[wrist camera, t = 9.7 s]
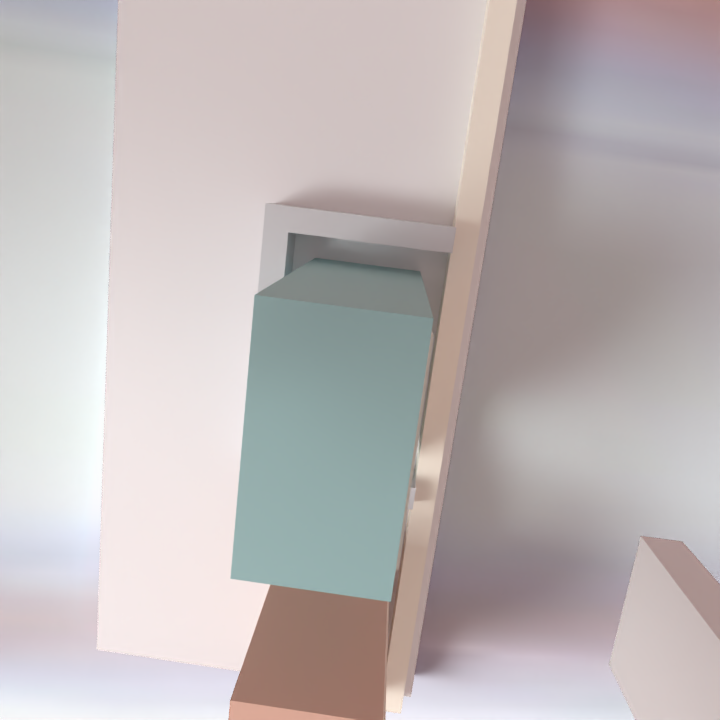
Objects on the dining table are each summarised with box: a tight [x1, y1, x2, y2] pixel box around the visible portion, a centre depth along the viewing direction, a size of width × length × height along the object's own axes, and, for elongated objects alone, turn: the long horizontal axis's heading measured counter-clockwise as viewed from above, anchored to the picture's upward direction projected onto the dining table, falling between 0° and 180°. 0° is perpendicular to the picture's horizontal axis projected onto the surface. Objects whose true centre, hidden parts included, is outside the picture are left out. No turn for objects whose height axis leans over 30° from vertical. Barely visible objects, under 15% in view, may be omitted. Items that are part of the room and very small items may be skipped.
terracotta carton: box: [229, 585, 389, 720], centre depth 26 cm, size 5×8×12 cm, turn 173°
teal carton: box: [230, 258, 434, 602], centre depth 23 cm, size 5×8×12 cm, turn 173°
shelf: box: [97, 0, 526, 713], centre depth 29 cm, size 16×36×4 cm, turn 173°
